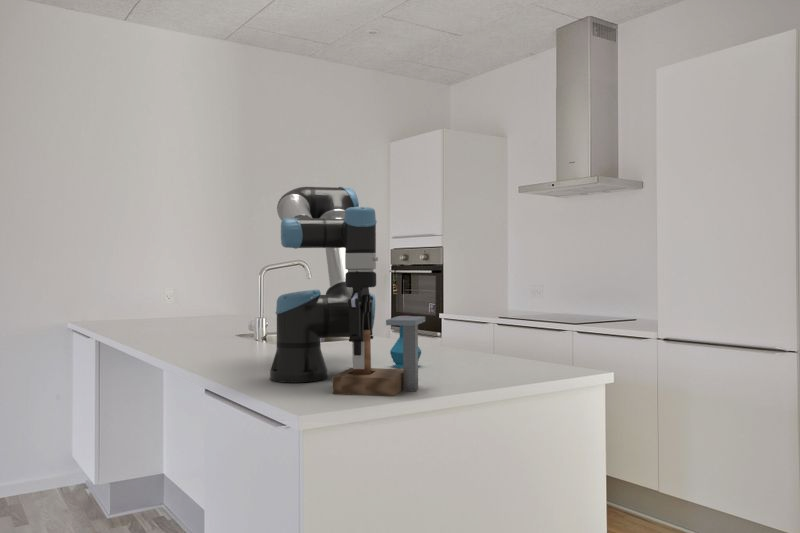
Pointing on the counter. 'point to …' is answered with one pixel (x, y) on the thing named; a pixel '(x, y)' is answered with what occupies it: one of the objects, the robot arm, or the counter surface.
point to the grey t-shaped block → (409, 349)
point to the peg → (365, 354)
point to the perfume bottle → (400, 351)
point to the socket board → (369, 382)
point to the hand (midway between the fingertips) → (361, 367)
